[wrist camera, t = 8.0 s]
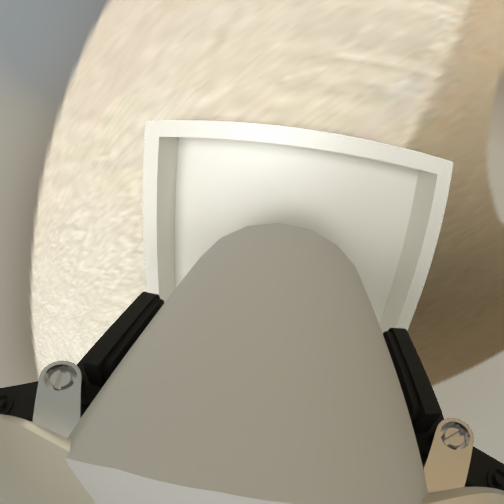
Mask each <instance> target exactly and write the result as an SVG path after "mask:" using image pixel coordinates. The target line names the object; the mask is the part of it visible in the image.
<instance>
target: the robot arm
mask: <svg viewBox="0 0 504 504" xmlns="http://www.w3.org/2000/svg"><path fill="white" fill-rule="evenodd" d="M163 304H164V300H163V299H160V296H159V295H158V294H153V293H148V292H142V293H141V294H140V295H139V296H138V298H137V299H136V300H135V301H134V302H133V303H132V304H131V305H130V306H129V307H128V308H127V309H126V311H125V312H124V313H123V314H122V315H121V316H120V317H119V318H118V319H117V320H116V321H115V323H114V324H112V325H111V327H110V328H109V329H108V330H107V331H106V332H105V333H104V334H103V336H102V337H101V338H100V339H99V340H98V341H97V342H96V343H95V345H94V346H93V347H92V348H91V349H90V350H89V351H88V353H87V354H86V355H85V356H84V357H83V358H82V360H81V361H80V362H79V363H78V364H77V365H75V364H74V363H71V362H69V361H57V362H54V363H51V364H49V365H48V366H46V367H45V368H44V369H43V370H42V372H41V374H40V377H39V381H37V382H32V383H27V384H22V385H17V386H11V387H5V388H0V504H96V503H95V501H94V500H93V499H92V497H91V496H90V495H89V493H88V492H87V491H86V489H85V488H84V487H83V485H82V484H81V483H80V481H79V480H78V478H77V477H76V475H75V474H74V472H73V471H72V469H71V468H70V466H69V465H68V463H67V461H66V459H65V458H66V457H67V455H68V454H69V452H70V448H71V440H69V439H67V438H68V436H69V435H70V433H71V432H72V430H73V429H74V427H75V426H76V424H77V423H78V422H79V420H80V419H81V417H82V416H83V414H84V413H85V411H86V410H87V408H88V407H89V406H90V404H91V403H92V401H93V400H94V398H95V397H96V396H97V394H98V393H99V391H100V390H101V388H102V387H103V386H104V384H105V383H106V381H107V380H108V379H109V377H110V376H111V374H112V373H113V372H114V370H115V369H116V367H117V366H118V365H119V363H120V362H121V361H122V359H123V358H124V356H125V355H126V354H127V352H128V351H129V350H130V348H131V347H132V346H133V344H134V343H135V342H136V340H137V339H138V338H139V336H140V335H141V333H142V332H143V331H144V329H145V328H146V327H147V325H148V324H149V323H150V322H151V320H152V319H153V318H154V316H155V315H156V314H157V312H158V311H159V310H160V308H161V307H162V306H163ZM383 336H384V339H385V342H386V344H387V347H388V350H389V353H390V356H391V359H392V361H393V364H394V367H395V370H396V373H397V376H398V379H399V382H400V386H401V389H402V392H403V395H404V398H405V402H406V405H407V408H408V412H409V415H410V419H411V422H412V426H413V430H414V433H415V437H416V441H417V445H418V449H419V453H420V457H421V461H422V466H423V470H424V475H425V479H426V484H427V489H428V494H427V495H426V496H425V497H424V499H423V500H422V502H421V504H504V464H503V463H500V462H499V461H497V460H496V459H494V458H492V457H490V456H489V455H487V454H485V453H484V452H482V451H480V450H478V449H477V448H475V447H473V442H474V436H473V432H472V430H471V429H470V427H469V426H468V425H467V424H466V423H465V422H463V421H461V420H459V419H456V418H447V419H444V418H443V415H442V411H441V409H440V406H439V404H438V401H437V398H436V396H435V393H434V391H433V389H432V386H431V384H430V381H429V379H428V376H427V374H426V372H425V370H424V367H423V365H422V363H421V360H420V358H419V356H418V354H417V352H416V349H415V347H414V345H413V343H412V341H411V339H410V337H409V334H408V332H407V330H406V329H404V328H389V330H388V331H385V332H384V333H383Z"/></svg>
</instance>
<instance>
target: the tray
mask: <svg viewBox="0 0 504 504" xmlns="http://www.w3.org/2000/svg"><path fill="white" fill-rule="evenodd" d="M453 163H454V162H452V161H449V160H446V159H442V158H439V157H436V156H432V155H429V154H425V153H421V152H418V151H414V150H410V149H406V148H402V147H398V146H394V145H390V144H386V143H381V142H377V141H372V140H367V139H362V138H357V137H352V136H347V135H341V134H335V133H329V132H323V131H316V130H309V129H302V128H294V127H286V126H277V125H267V124H256V123H243V122H228V121H204V120H149V121H145V136H144V156H143V244H144V265H145V280H146V292H148V293H153V294H158V295H159V296H160V299H163V300H164V303H165V302H166V301H167V299H168V298H169V297H170V295H171V294H172V293H173V291H174V290H175V289H176V288H177V286H178V285H179V284H180V282H181V281H182V280H183V279H184V277H185V276H186V275H187V274H188V272H189V271H190V270H191V268H192V267H193V266H194V265H195V263H196V262H197V261H198V260H199V258H200V257H201V256H202V255H203V254H204V253H205V252H206V251H207V250H208V249H209V248H211V247H212V246H213V245H214V244H215V243H216V242H217V241H218V240H219V239H220V238H222V237H224V236H226V235H229V234H231V233H233V232H235V231H238V230H240V229H242V228H244V227H247V226H253V225H263V224H273V223H282V224H287V225H292V226H296V227H301V228H306V229H310V230H312V231H314V232H316V233H317V234H319V235H321V236H323V237H324V238H326V239H328V240H329V241H331V242H333V243H334V244H336V245H338V247H339V248H340V249H341V250H342V251H343V252H344V254H345V255H346V256H347V257H348V258H349V260H350V261H351V262H352V263H353V264H354V266H355V267H356V269H357V271H358V274H359V276H360V278H361V281H362V283H363V285H364V288H365V290H366V293H367V295H368V297H369V300H370V302H371V305H372V307H373V310H374V312H375V315H376V318H377V320H378V323H379V325H380V328H381V331H382V333H384V332H385V331H388V330H389V328H404V329H406V330H408V328H409V325H410V323H411V320H412V317H413V315H414V312H415V310H416V307H417V304H418V301H419V299H420V296H421V293H422V290H423V287H424V284H425V281H426V278H427V275H428V272H429V269H430V265H431V262H432V259H433V255H434V252H435V248H436V245H437V241H438V237H439V233H440V229H441V225H442V221H443V216H444V212H445V207H446V203H447V198H448V193H449V187H450V182H451V176H452V169H453Z"/></svg>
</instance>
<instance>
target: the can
mask: <svg viewBox="0 0 504 504" xmlns="http://www.w3.org/2000/svg"><path fill="white" fill-rule="evenodd" d="M67 439H69V440H71V448H70V452H69V454H68V455H67V457H66V458H65V459H66V461H67V463H68V465H69V466H70V468H71V469H72V471H73V472H74V474H75V475H76V477H77V478H78V480H79V481H80V483H81V484H82V485H83V487H84V488H85V489H86V491H87V492H88V493H89V495H90V496H91V497H92V499H93V500H94V501H95V503H96V504H421V502H422V500H423V499H424V497H425V496H426V495H427V494H428V489H427V484H426V479H425V475H424V470H423V466H422V461H421V457H420V453H419V449H418V445H417V441H416V437H415V433H414V430H413V426H412V422H411V419H410V415H409V412H408V408H407V405H406V402H405V398H404V395H403V392H402V389H401V386H400V382H399V379H398V376H397V373H396V370H395V367H394V364H393V361H392V359H391V356H390V353H389V350H388V347H387V344H386V342H385V339H384V336H383V333H382V331H381V328H380V325H379V323H378V320H377V318H376V315H375V312H374V310H373V307H372V305H371V302H370V300H369V297H368V295H367V293H366V290H365V288H364V285H363V283H362V281H361V278H360V276H359V274H358V271H357V269H356V267H355V266H354V264H353V263H352V262H351V261H350V260H349V258H348V257H347V256H346V255H345V254H344V252H343V251H342V250H341V249H340V248H339V247H338V245H336V244H334V243H333V242H331V241H329V240H328V239H326V238H324V237H323V236H321V235H319V234H317V233H316V232H314V231H312V230H310V229H306V228H301V227H296V226H292V225H287V224H282V223H273V224H263V225H253V226H247V227H244V228H242V229H240V230H238V231H235V232H233V233H231V234H229V235H226V236H224V237H222V238H220V239H219V240H218V241H217V242H216V243H215V244H214V245H213V246H212V247H211V248H209V249H208V250H207V251H206V252H205V253H204V254H203V255H202V256H201V257H200V258H199V260H198V261H197V262H196V263H195V265H194V266H193V267H192V268H191V270H190V271H189V272H188V274H187V275H186V276H185V277H184V279H183V280H182V281H181V282H180V284H179V285H178V286H177V288H176V289H175V290H174V291H173V293H172V294H171V295H170V297H169V298H168V299H167V301H166V302H165V303H164V304H163V306H162V307H161V308H160V310H159V311H158V312H157V314H156V315H155V316H154V318H153V319H152V320H151V322H150V323H149V324H148V325H147V327H146V328H145V329H144V331H143V332H142V333H141V335H140V336H139V338H138V339H137V340H136V342H135V343H134V344H133V346H132V347H131V348H130V350H129V351H128V352H127V354H126V355H125V356H124V358H123V359H122V361H121V362H120V363H119V365H118V366H117V367H116V369H115V370H114V372H113V373H112V374H111V376H110V377H109V379H108V380H107V381H106V383H105V384H104V386H103V387H102V388H101V390H100V391H99V393H98V394H97V396H96V397H95V398H94V400H93V401H92V403H91V404H90V406H89V407H88V408H87V410H86V411H85V413H84V414H83V416H82V417H81V419H80V420H79V422H78V423H77V424H76V426H75V427H74V429H73V430H72V432H71V433H70V435H69V436H68V438H67Z"/></svg>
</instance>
